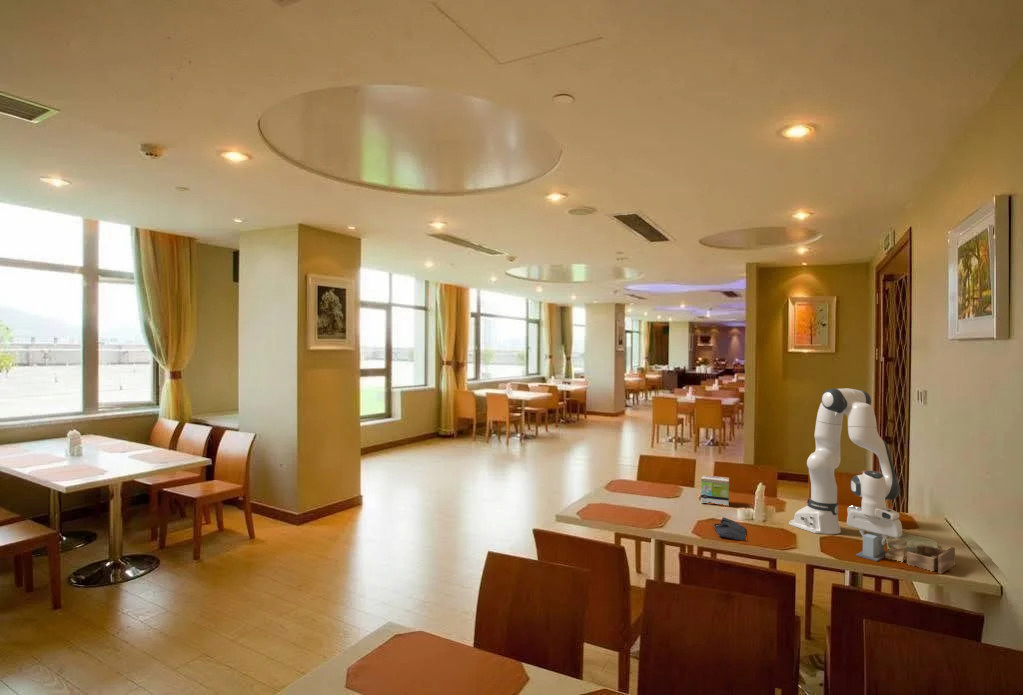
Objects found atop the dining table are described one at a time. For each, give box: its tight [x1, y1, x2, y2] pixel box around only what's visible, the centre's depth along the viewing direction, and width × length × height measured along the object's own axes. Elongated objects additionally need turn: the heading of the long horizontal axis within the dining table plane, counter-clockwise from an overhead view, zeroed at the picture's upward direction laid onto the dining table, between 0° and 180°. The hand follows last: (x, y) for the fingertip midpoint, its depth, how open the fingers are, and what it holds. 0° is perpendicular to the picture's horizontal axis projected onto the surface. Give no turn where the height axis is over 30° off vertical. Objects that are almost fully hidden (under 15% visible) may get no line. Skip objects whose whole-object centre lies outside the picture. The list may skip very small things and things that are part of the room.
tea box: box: [700, 474, 730, 506], centre depth 312 cm, size 15×10×15 cm, turn 68°
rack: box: [906, 544, 956, 575], centre depth 223 cm, size 12×16×7 cm
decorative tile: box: [885, 533, 939, 554], centre depth 243 cm, size 19×20×4 cm
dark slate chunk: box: [713, 517, 747, 541], centre depth 262 cm, size 15×22×5 cm
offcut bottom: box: [885, 551, 907, 563], centre depth 231 cm, size 6×10×2 cm, turn 130°
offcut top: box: [887, 539, 907, 549], centre depth 231 cm, size 4×6×2 cm, turn 114°
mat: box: [855, 550, 889, 562], centre depth 234 cm, size 8×15×1 cm, turn 126°
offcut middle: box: [888, 547, 906, 557], centre depth 231 cm, size 5×8×2 cm, turn 138°
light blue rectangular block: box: [862, 531, 885, 557], centre depth 234 cm, size 4×11×8 cm, turn 126°
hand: (873, 542), depth 234 cm, fingers open, 5 cm apart
